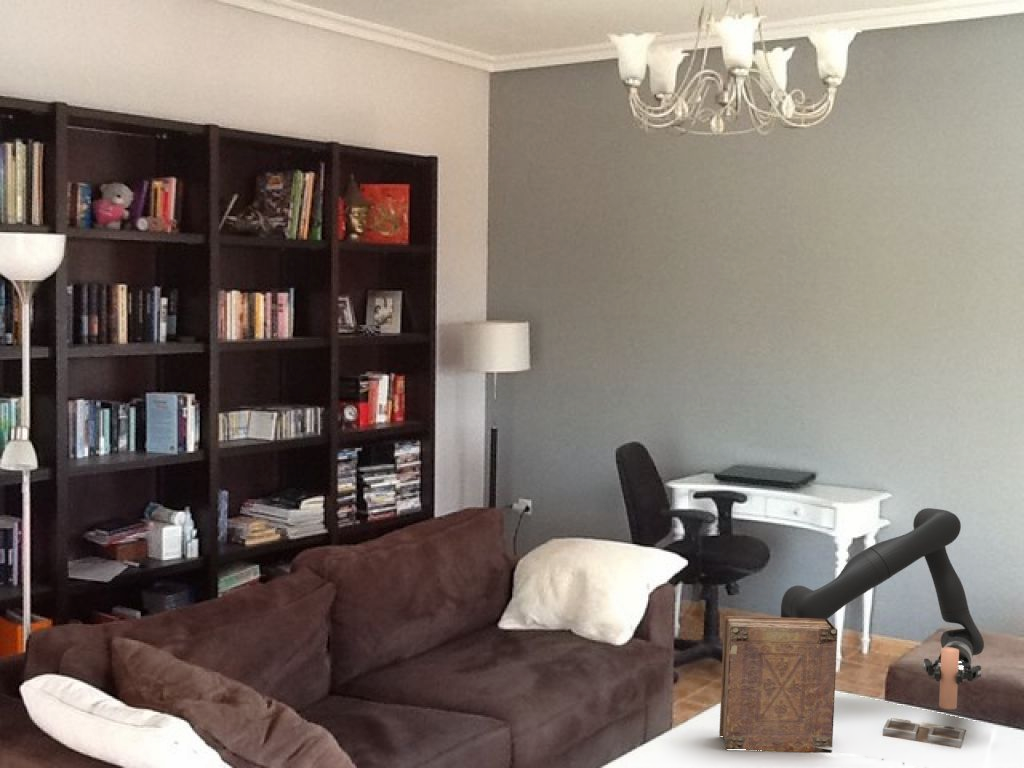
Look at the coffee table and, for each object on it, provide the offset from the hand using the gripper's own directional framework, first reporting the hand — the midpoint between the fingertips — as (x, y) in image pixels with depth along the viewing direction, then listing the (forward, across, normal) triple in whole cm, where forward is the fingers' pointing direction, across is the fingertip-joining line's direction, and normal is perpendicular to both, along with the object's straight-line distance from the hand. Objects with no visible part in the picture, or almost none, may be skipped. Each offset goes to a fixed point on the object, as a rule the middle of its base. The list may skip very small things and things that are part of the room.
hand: (948, 678), depth 303 cm
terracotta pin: (-3, 0, +8) cm, 8 cm away
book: (+16, -37, +17) cm, 44 cm away
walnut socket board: (-5, -5, +17) cm, 19 cm away
